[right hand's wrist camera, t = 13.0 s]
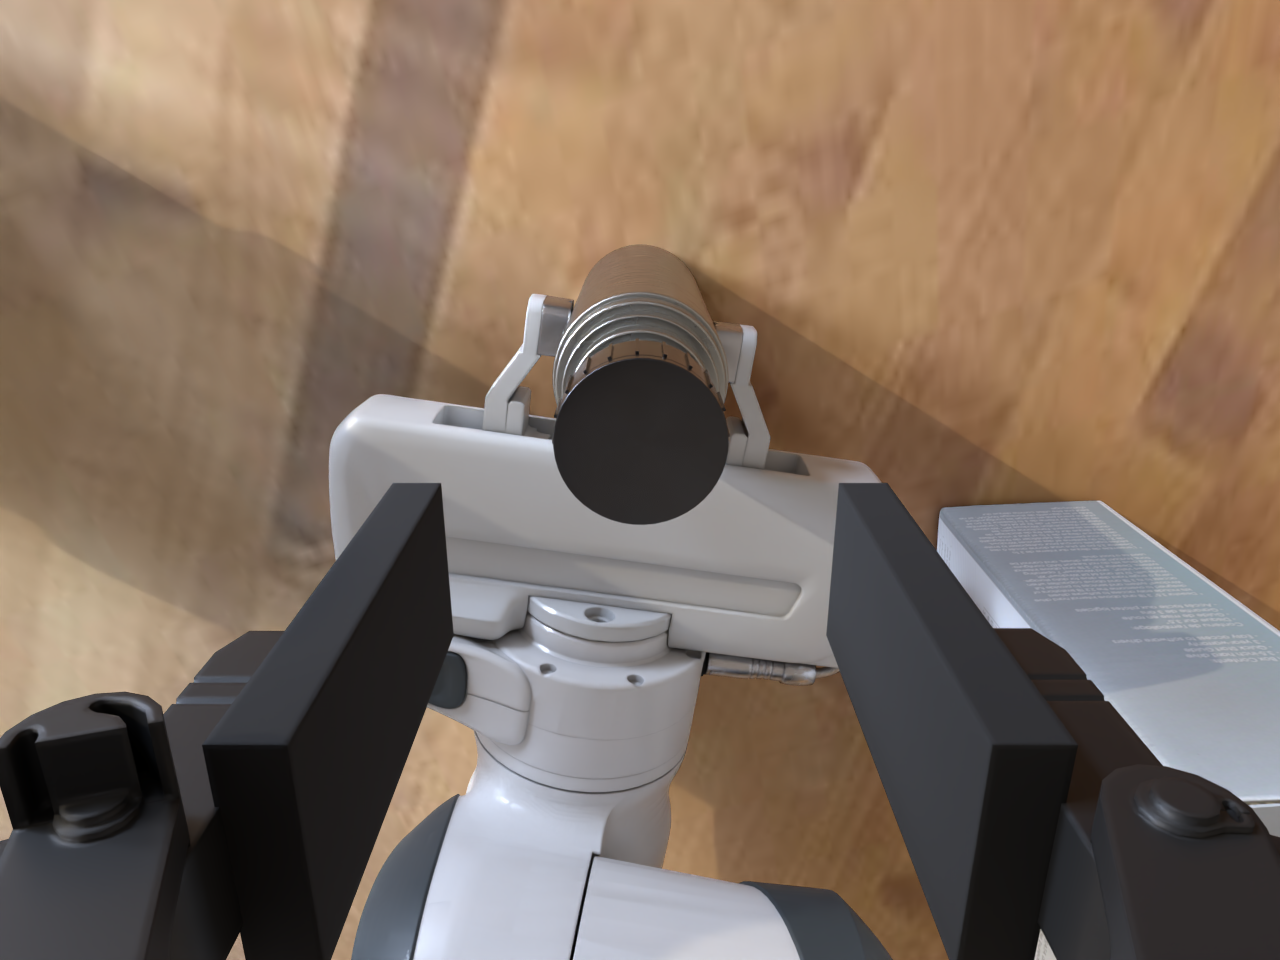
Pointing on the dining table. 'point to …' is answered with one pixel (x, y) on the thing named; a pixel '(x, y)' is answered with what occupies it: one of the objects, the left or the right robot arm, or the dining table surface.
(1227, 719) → the hard drive box
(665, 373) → the cap
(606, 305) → the bottle
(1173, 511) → the dining table surface
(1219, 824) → the right robot arm
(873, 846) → the dining table surface
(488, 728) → the left robot arm
